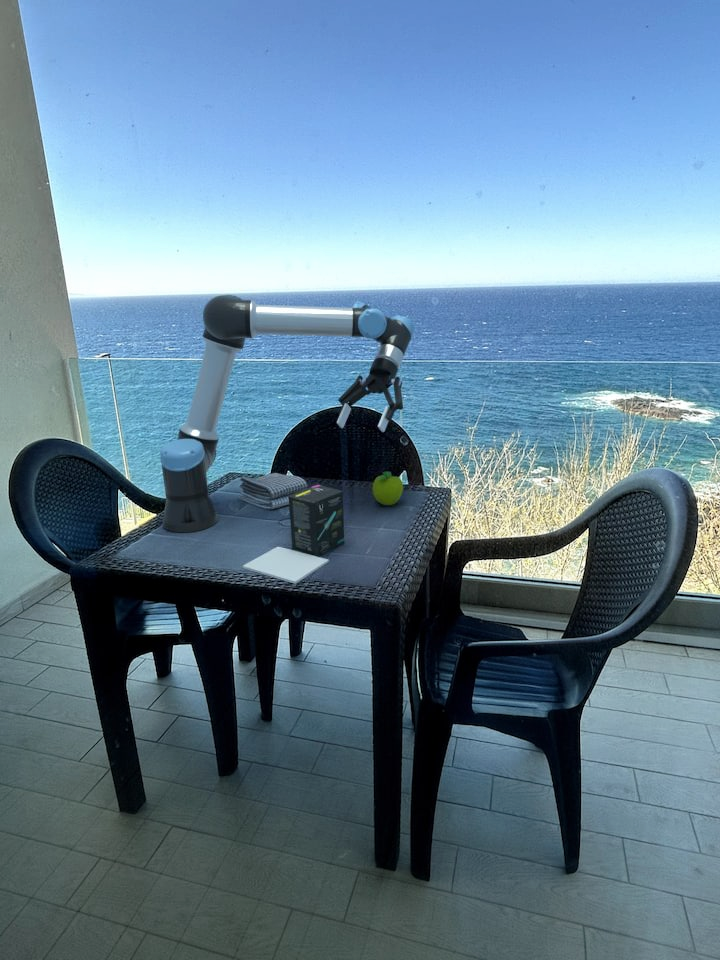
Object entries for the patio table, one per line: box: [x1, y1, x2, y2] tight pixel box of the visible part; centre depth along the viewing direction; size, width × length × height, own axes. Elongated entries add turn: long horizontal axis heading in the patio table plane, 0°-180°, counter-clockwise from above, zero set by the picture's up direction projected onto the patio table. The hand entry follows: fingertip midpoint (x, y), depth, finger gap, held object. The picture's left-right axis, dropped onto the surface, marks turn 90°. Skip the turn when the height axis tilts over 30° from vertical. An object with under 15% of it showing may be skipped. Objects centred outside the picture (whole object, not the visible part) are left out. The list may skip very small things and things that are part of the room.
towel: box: [237, 472, 309, 510], centre depth 186 cm, size 15×18×8 cm
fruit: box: [371, 471, 404, 506], centre depth 179 cm, size 9×9×10 cm
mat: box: [242, 546, 330, 585], centre depth 141 cm, size 16×13×1 cm
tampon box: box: [288, 484, 345, 557], centre depth 149 cm, size 11×9×15 cm
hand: (359, 427), depth 160 cm, fingers open, 13 cm apart
